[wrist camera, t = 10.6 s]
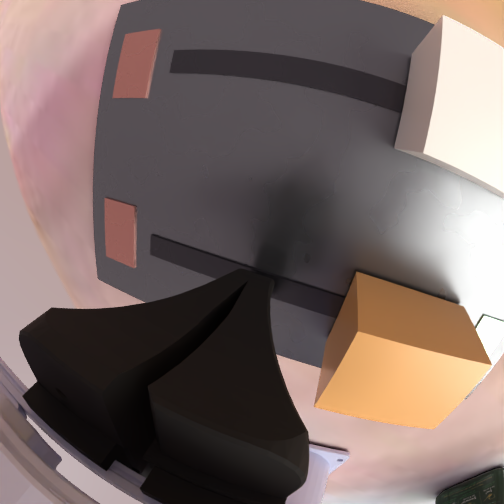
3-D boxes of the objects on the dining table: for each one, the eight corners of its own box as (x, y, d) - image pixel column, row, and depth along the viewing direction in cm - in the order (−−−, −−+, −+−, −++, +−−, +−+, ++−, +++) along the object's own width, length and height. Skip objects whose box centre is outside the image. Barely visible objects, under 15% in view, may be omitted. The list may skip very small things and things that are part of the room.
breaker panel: (461, 380, 12) (466, 400, 10) (114, 268, 16) (96, 279, 15) (567, 129, 5) (585, 132, 4) (139, 12, 9) (119, 4, 8)
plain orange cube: (423, 368, 10) (433, 429, 7) (325, 342, 11) (313, 406, 8) (464, 306, 9) (492, 365, 6) (356, 271, 10) (358, 331, 7)
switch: (507, 200, 7) (561, 232, 4) (393, 148, 8) (422, 152, 5) (525, 115, 5) (582, 116, 2) (411, 53, 6) (442, 14, 3)
